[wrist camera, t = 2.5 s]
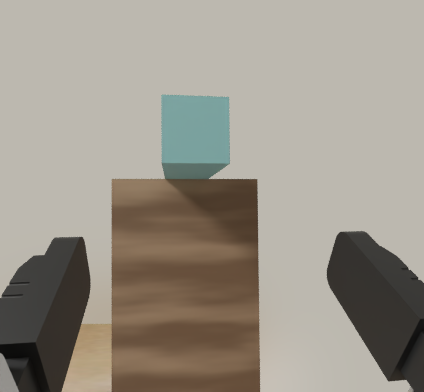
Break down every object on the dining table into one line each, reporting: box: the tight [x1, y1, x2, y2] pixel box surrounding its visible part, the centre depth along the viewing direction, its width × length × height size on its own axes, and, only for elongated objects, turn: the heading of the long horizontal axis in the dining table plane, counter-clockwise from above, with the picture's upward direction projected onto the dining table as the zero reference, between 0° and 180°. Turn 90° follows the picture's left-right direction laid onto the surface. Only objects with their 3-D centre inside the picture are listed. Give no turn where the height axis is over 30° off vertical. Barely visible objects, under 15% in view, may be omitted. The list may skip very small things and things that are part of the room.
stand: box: [112, 179, 260, 392], centre depth 34 cm, size 18×14×32 cm
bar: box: [162, 95, 230, 179], centre depth 29 cm, size 26×4×4 cm, turn 7°
